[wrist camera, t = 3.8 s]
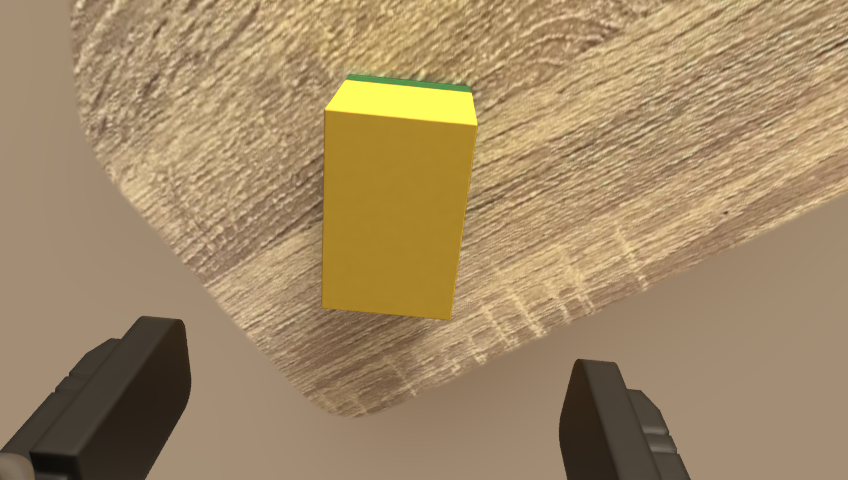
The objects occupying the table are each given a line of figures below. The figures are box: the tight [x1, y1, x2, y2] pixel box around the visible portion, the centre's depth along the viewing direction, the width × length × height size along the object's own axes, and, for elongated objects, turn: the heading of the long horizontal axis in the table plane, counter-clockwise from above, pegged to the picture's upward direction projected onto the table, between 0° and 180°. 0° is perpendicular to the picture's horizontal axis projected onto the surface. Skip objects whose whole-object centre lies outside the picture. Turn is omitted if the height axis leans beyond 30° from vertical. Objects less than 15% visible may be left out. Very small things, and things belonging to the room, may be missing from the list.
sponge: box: [321, 74, 478, 320], centre depth 21 cm, size 4×7×5 cm, turn 174°
